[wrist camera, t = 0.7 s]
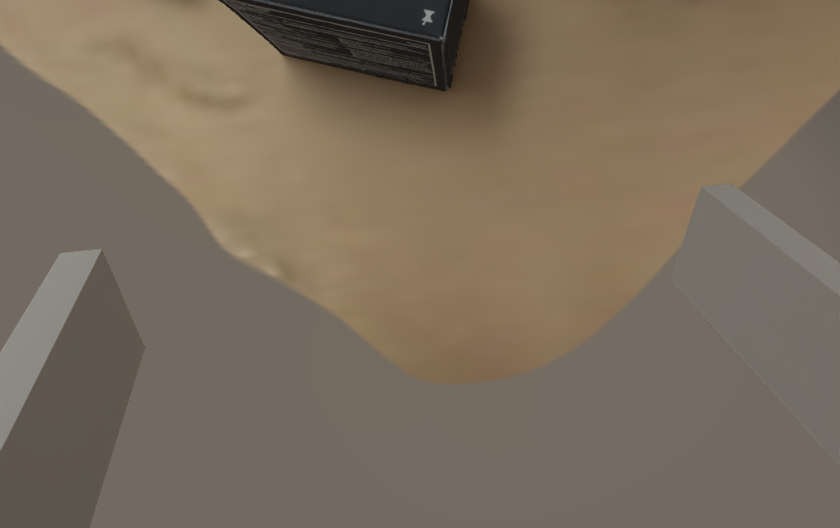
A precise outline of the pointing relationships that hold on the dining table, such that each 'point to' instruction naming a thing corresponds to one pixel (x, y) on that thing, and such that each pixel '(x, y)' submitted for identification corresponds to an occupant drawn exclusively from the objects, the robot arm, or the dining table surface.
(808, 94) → the dining table surface
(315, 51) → the small box
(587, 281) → the dining table surface
